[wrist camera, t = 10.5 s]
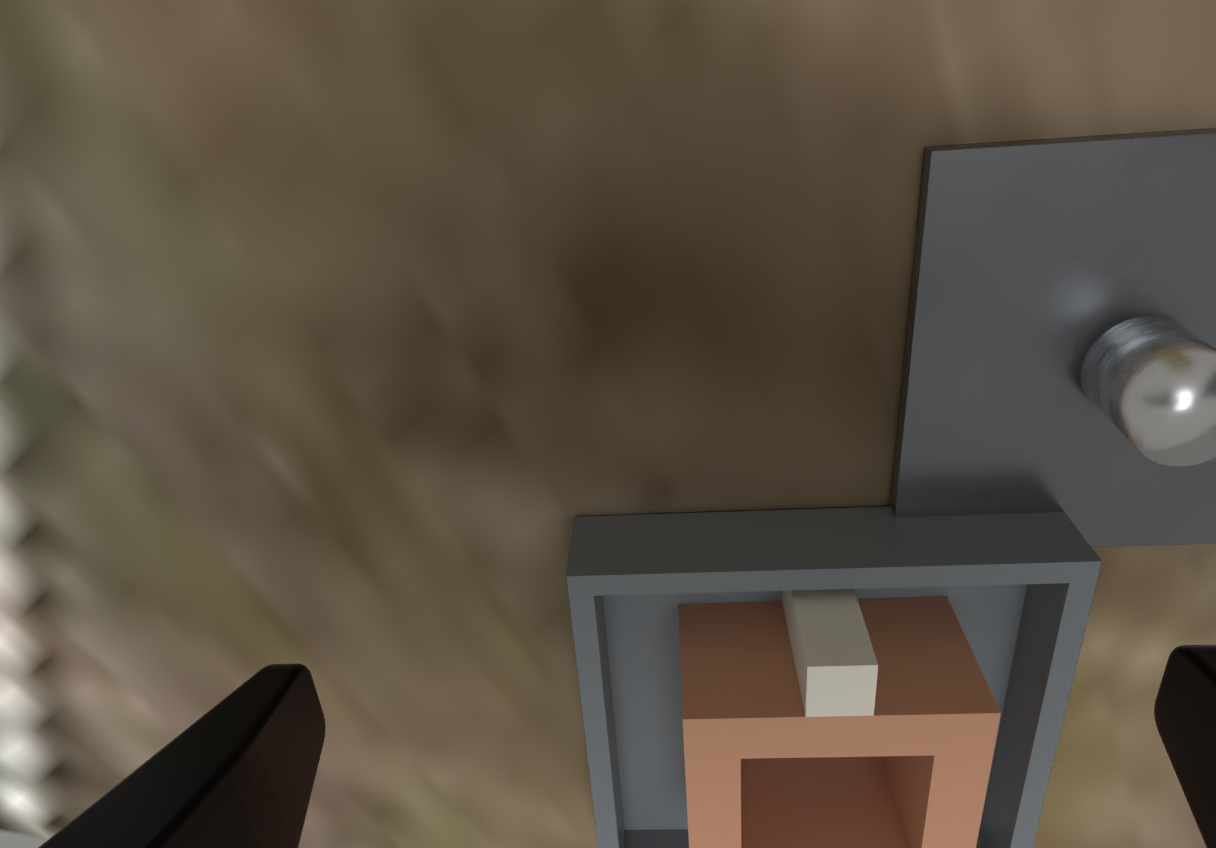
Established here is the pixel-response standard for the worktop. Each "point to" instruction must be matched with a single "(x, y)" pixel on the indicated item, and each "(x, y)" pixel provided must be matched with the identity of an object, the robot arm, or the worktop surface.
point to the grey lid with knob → (1065, 336)
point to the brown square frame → (833, 723)
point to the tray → (818, 560)
